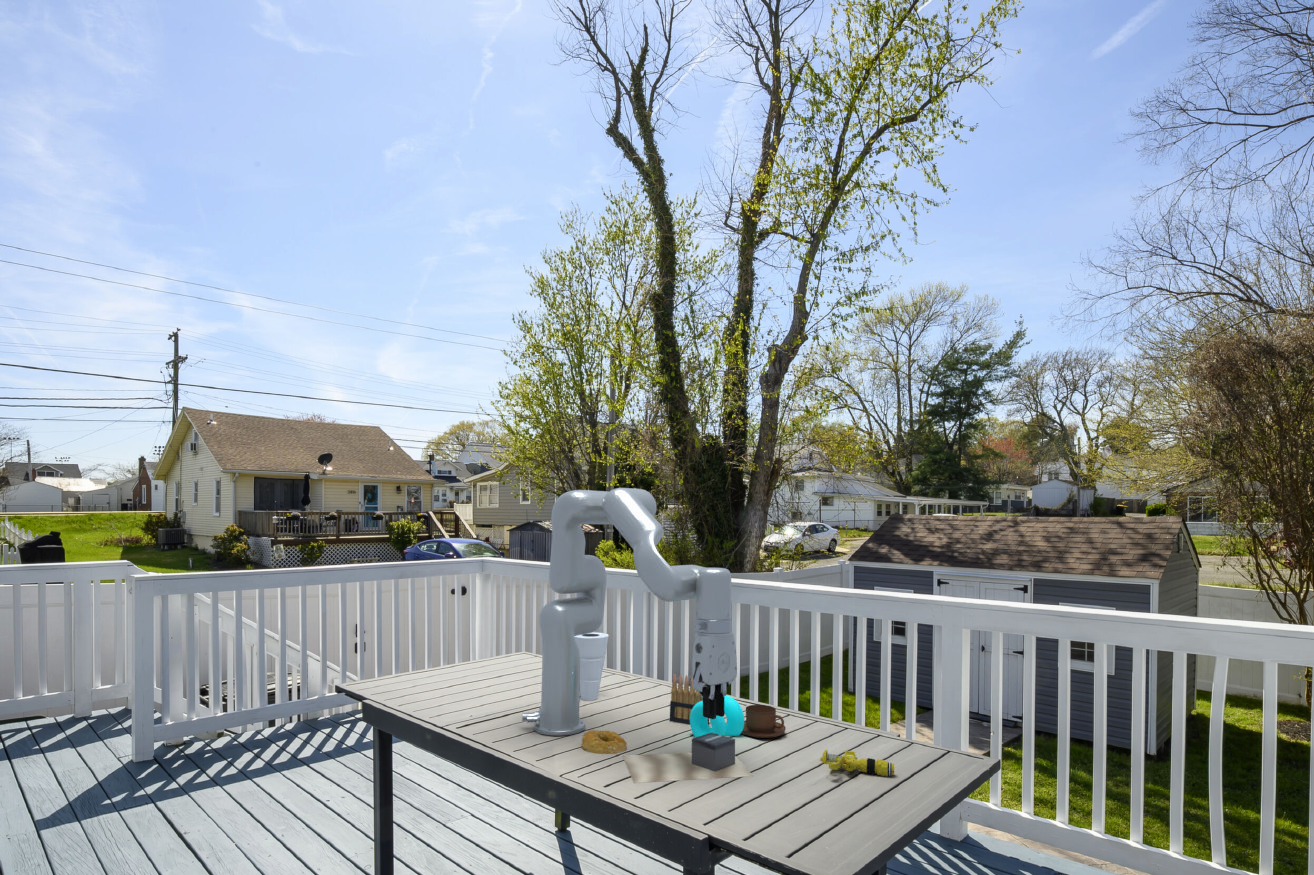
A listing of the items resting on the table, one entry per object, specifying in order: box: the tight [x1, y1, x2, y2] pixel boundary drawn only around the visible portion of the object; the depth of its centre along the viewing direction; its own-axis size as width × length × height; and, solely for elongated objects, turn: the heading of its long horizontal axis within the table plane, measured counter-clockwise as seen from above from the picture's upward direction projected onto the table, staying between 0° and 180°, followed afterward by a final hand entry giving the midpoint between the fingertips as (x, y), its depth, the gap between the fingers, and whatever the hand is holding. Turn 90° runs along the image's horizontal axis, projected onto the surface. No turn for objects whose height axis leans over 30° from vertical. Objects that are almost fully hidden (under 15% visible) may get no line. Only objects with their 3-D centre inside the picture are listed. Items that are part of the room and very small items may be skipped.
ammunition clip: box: [668, 673, 710, 726], centre depth 183 cm, size 11×2×12 cm, turn 60°
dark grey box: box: [691, 733, 736, 772], centre depth 148 cm, size 6×6×5 cm
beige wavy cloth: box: [622, 751, 754, 784], centre depth 147 cm, size 24×16×2 cm, turn 100°
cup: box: [574, 631, 609, 702], centre depth 207 cm, size 11×11×18 cm
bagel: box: [581, 729, 628, 755], centre depth 158 cm, size 10×11×5 cm
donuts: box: [689, 695, 745, 738], centre depth 168 cm, size 10×10×10 cm
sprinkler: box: [819, 749, 895, 777], centre depth 150 cm, size 19×4×15 cm
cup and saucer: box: [741, 704, 786, 739], centre depth 175 cm, size 12×12×6 cm
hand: (713, 715), depth 149 cm, fingers closed
